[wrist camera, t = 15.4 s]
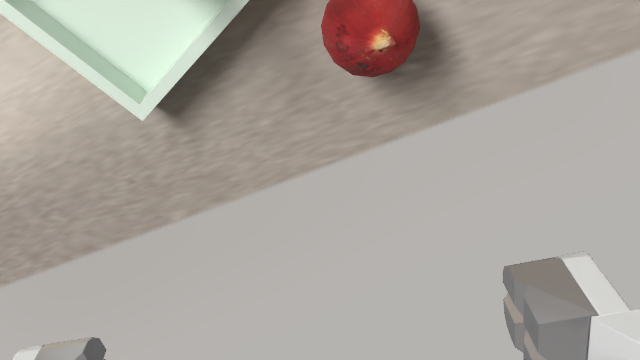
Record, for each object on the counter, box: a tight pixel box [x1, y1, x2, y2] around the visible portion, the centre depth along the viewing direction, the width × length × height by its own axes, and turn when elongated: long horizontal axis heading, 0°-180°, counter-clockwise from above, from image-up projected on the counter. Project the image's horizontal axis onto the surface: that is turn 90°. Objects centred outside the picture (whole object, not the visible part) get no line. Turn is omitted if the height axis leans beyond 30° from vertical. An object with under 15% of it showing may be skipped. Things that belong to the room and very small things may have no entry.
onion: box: [321, 0, 420, 77], centre depth 33 cm, size 6×6×8 cm
